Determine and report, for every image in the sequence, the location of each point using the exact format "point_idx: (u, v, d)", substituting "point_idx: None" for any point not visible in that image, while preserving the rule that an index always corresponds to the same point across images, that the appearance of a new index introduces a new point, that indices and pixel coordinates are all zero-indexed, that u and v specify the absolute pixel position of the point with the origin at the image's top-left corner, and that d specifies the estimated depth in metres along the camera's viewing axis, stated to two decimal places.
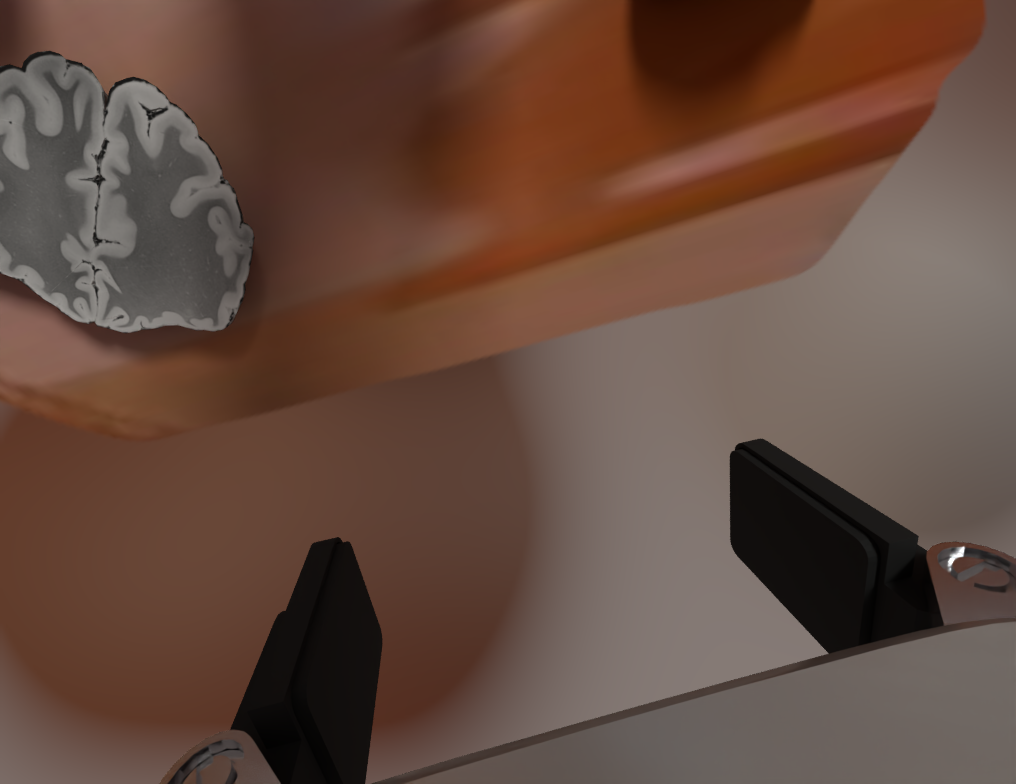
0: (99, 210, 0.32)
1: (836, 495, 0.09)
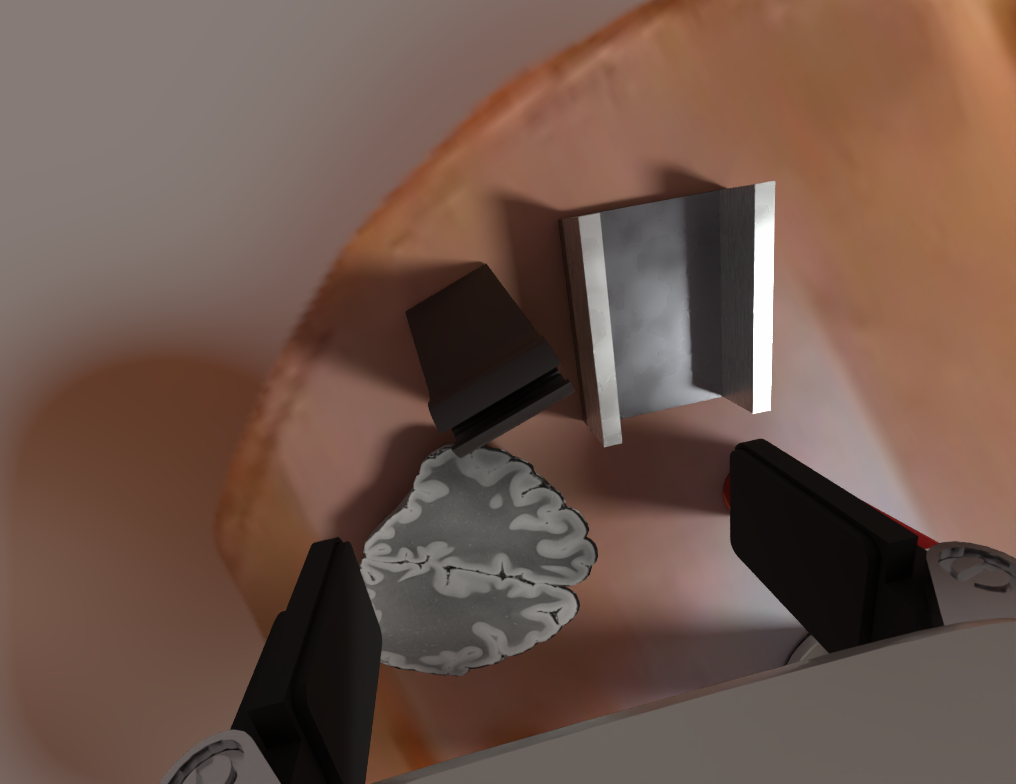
0: (476, 573, 0.34)
1: (836, 495, 0.09)
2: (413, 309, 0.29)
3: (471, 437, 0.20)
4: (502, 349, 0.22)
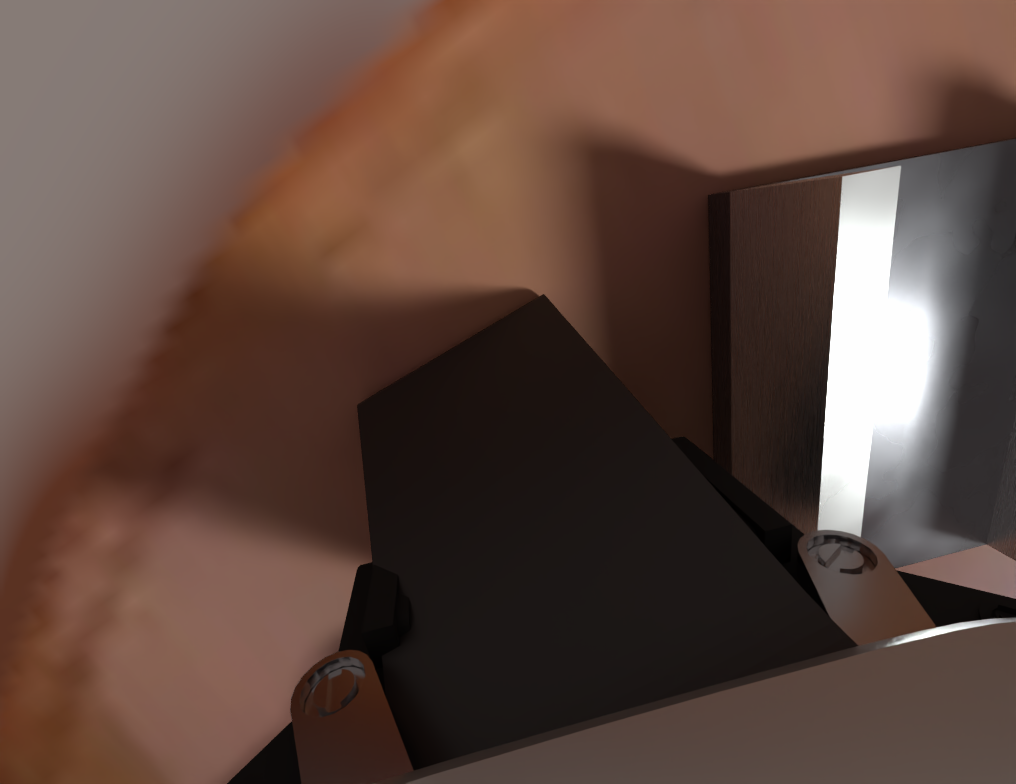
0: None
1: (732, 488, 0.09)
2: (375, 401, 0.13)
3: None
4: (679, 668, 0.06)
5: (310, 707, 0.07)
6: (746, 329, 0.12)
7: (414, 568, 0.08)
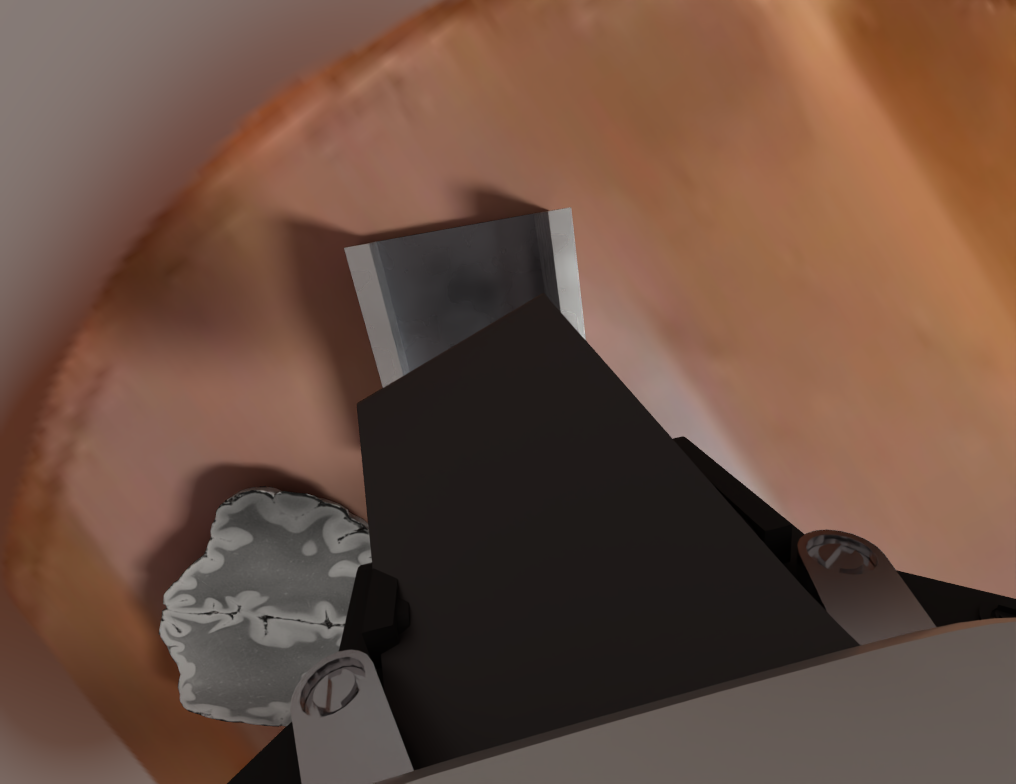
0: (297, 622, 0.31)
1: (732, 488, 0.09)
2: (374, 400, 0.13)
3: None
4: (679, 666, 0.06)
5: (310, 707, 0.07)
6: None
7: (413, 566, 0.08)
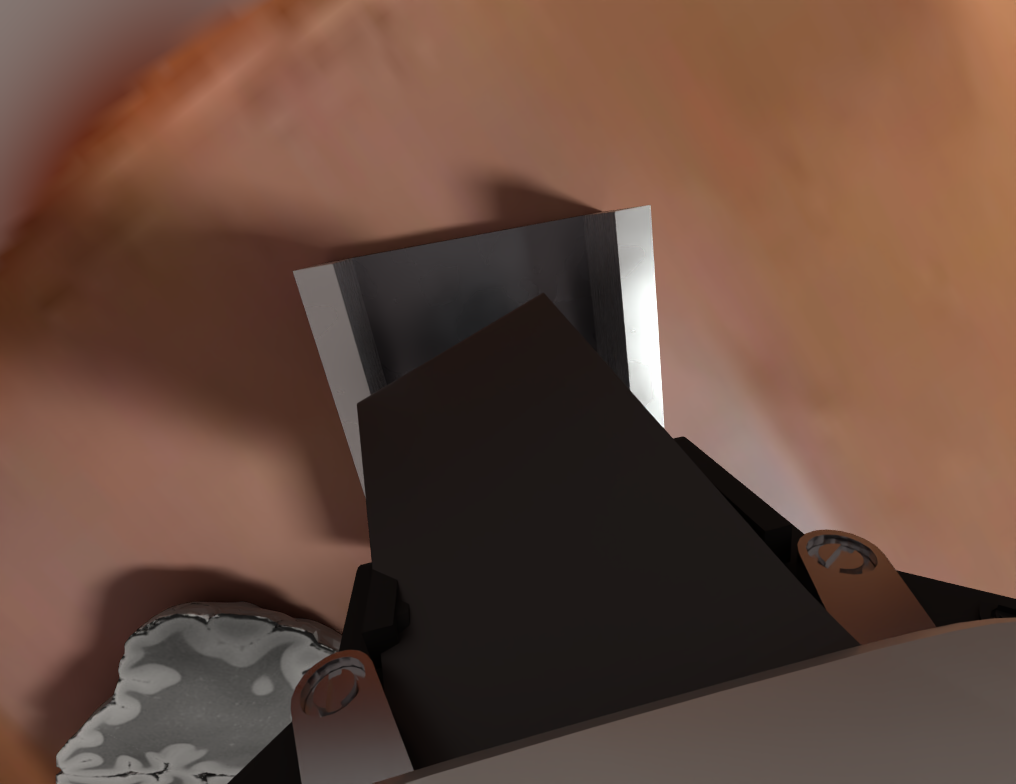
0: None
1: (732, 488, 0.09)
2: (374, 400, 0.13)
3: None
4: (680, 666, 0.06)
5: (310, 707, 0.07)
6: None
7: (413, 566, 0.08)
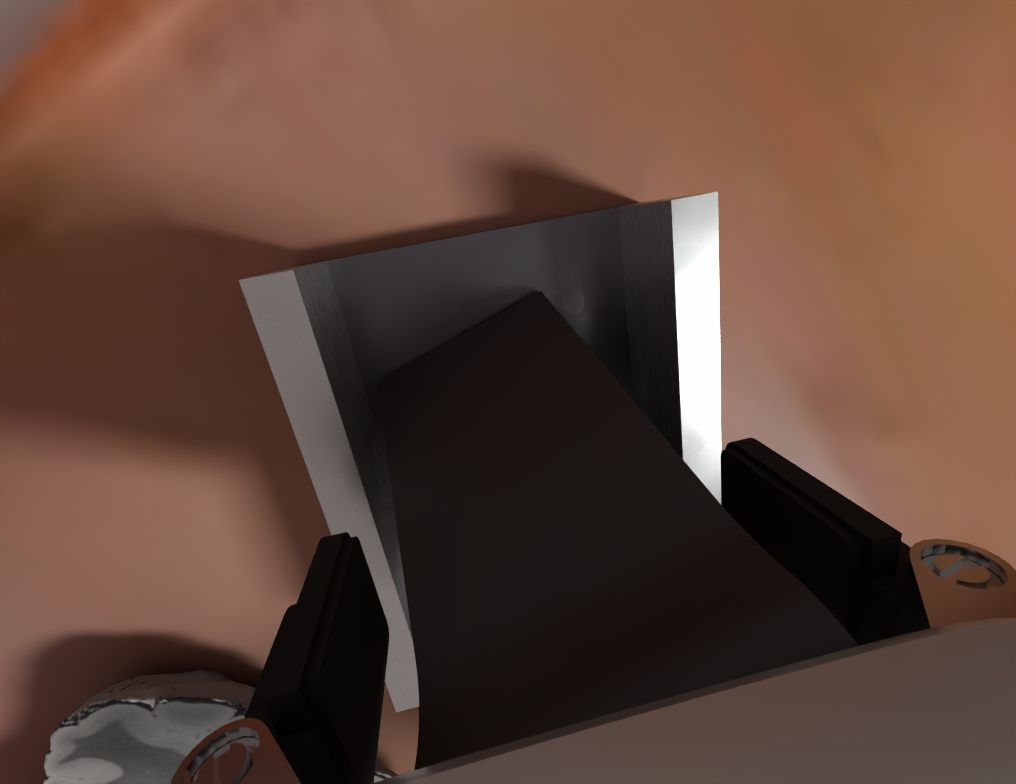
0: None
1: (823, 493, 0.09)
2: (392, 379, 0.14)
3: None
4: (633, 568, 0.08)
5: None
6: None
7: (429, 508, 0.10)
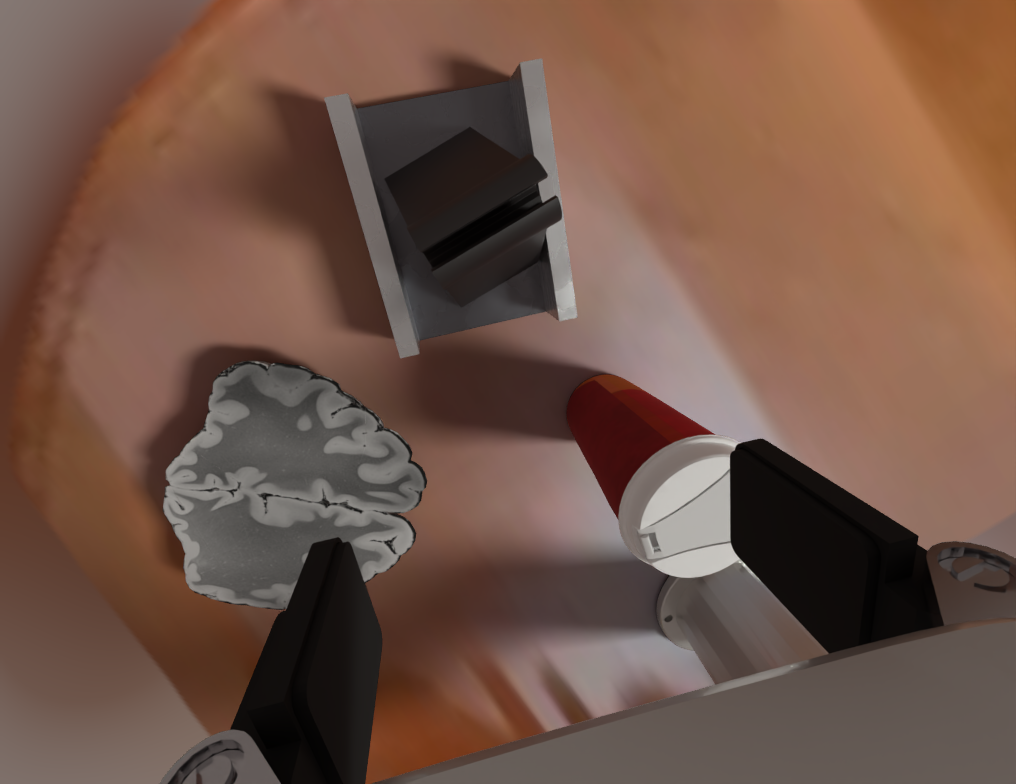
0: (295, 500, 0.33)
1: (836, 495, 0.09)
2: (392, 174, 0.28)
3: (453, 258, 0.19)
4: (485, 180, 0.21)
5: None
6: None
7: (411, 197, 0.24)
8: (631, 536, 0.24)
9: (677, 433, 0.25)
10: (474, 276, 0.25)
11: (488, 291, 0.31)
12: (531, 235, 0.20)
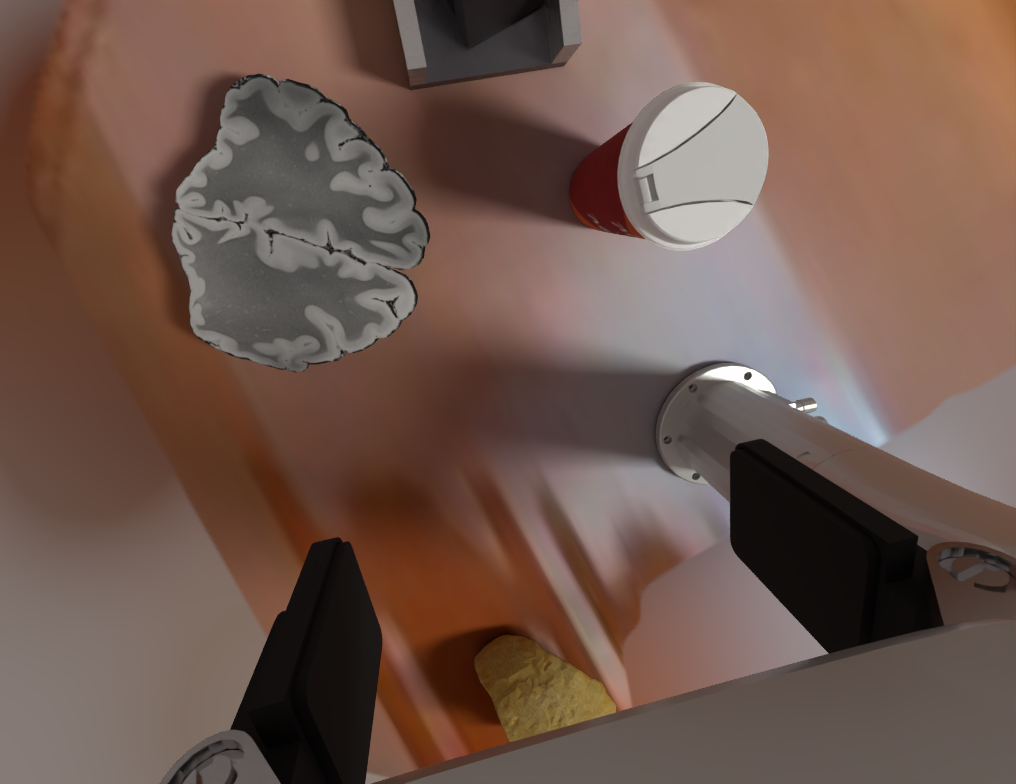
0: (301, 242, 0.33)
1: (836, 495, 0.09)
2: None
3: None
4: None
5: None
6: None
7: None
8: (629, 190, 0.24)
9: None
10: None
11: (495, 30, 0.32)
12: None
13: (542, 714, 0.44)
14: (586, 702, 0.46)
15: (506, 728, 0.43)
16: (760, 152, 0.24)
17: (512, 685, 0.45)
